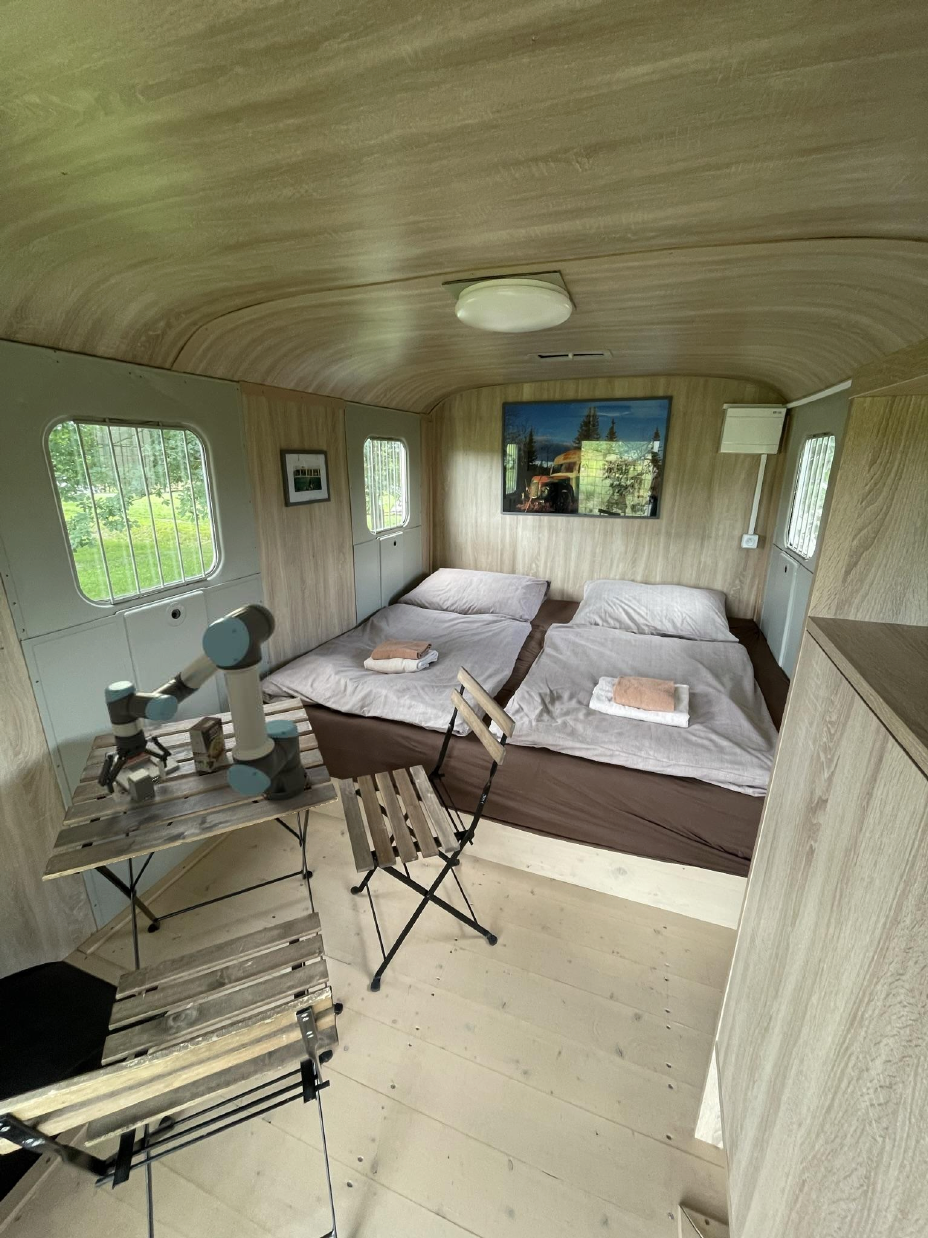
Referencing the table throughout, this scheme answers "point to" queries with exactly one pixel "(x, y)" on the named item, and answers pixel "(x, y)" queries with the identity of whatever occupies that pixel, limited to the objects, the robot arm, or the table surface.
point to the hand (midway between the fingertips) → (140, 788)
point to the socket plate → (145, 768)
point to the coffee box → (208, 743)
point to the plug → (140, 785)
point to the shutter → (134, 759)
